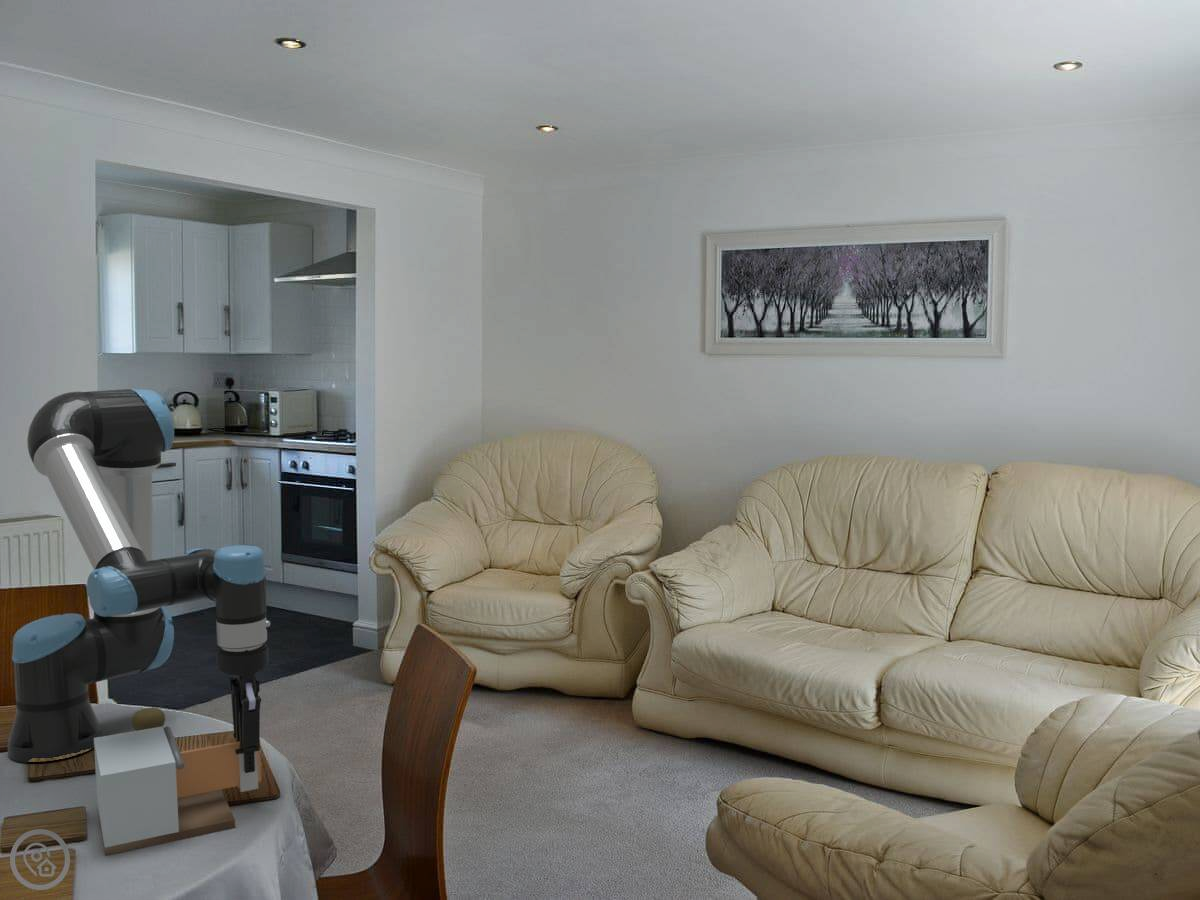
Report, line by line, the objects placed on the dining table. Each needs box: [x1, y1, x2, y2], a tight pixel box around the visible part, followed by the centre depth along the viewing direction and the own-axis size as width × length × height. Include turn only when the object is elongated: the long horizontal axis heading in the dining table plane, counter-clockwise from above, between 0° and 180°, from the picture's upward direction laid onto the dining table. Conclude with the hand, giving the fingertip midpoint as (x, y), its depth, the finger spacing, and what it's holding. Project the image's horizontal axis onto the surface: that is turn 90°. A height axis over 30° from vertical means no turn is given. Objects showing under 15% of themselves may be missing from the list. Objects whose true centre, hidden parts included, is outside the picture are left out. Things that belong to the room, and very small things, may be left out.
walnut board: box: [96, 789, 236, 856], centre depth 163 cm, size 16×18×1 cm
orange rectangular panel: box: [176, 741, 262, 798], centre depth 165 cm, size 1×16×7 cm, turn 119°
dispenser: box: [93, 725, 184, 847], centre depth 161 cm, size 16×11×11 cm
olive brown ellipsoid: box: [131, 707, 166, 731], centre depth 180 cm, size 6×6×11 cm
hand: (248, 787), depth 169 cm, fingers closed, pressing on orange rectangular panel
